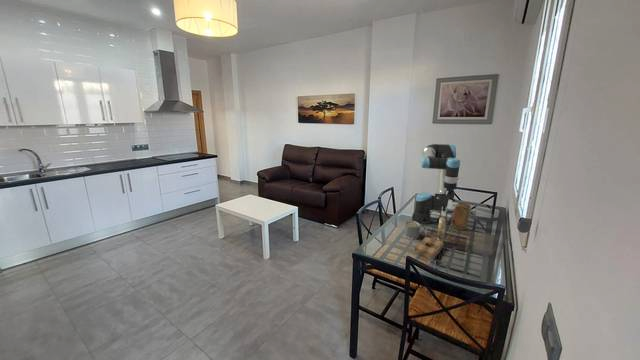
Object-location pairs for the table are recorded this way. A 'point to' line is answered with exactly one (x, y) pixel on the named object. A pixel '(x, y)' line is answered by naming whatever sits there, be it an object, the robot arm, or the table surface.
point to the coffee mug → (412, 229)
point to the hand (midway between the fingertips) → (446, 212)
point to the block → (460, 216)
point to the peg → (441, 229)
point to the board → (429, 248)
